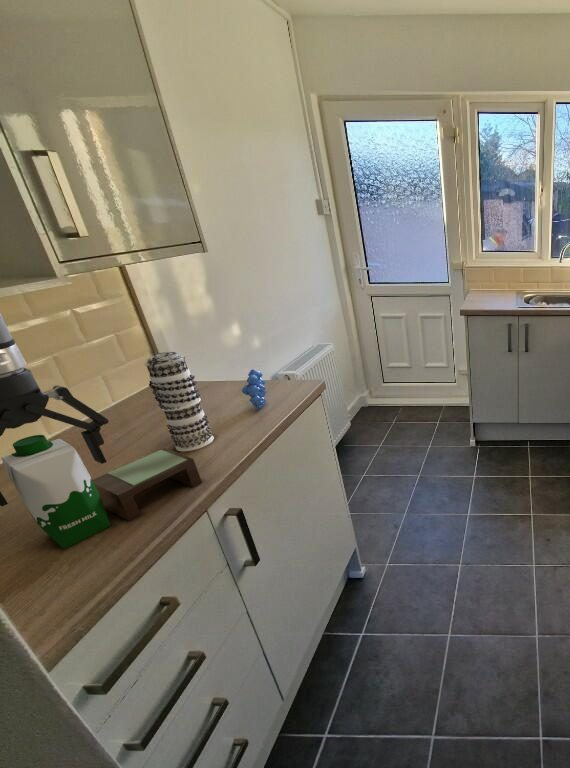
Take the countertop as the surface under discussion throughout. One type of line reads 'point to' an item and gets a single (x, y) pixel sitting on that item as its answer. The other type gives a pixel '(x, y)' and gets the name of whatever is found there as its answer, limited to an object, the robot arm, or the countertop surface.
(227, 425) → the countertop surface
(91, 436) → the robot arm
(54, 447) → the milk carton
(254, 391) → the grapes
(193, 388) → the white patterned cylinder
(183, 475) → the brown wooden stand
